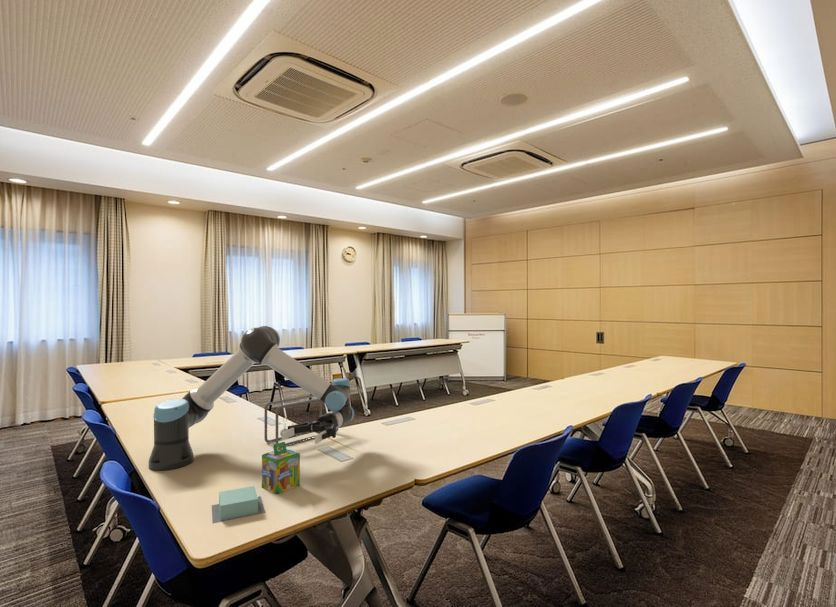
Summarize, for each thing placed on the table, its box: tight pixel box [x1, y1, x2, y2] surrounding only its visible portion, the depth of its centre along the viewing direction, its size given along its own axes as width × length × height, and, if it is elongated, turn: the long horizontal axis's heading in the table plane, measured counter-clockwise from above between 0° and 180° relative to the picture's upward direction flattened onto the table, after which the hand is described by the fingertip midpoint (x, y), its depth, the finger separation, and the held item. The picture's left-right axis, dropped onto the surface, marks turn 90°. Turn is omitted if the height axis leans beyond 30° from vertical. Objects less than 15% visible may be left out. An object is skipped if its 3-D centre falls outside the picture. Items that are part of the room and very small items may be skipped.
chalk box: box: [261, 441, 301, 495], centre depth 145 cm, size 9×9×15 cm
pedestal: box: [218, 485, 259, 520], centre depth 129 cm, size 10×10×4 cm
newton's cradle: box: [264, 394, 323, 448], centre depth 199 cm, size 30×10×18 cm, turn 138°
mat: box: [211, 495, 266, 524], centre depth 129 cm, size 14×12×1 cm
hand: (298, 438), depth 154 cm, fingers open, 13 cm apart
